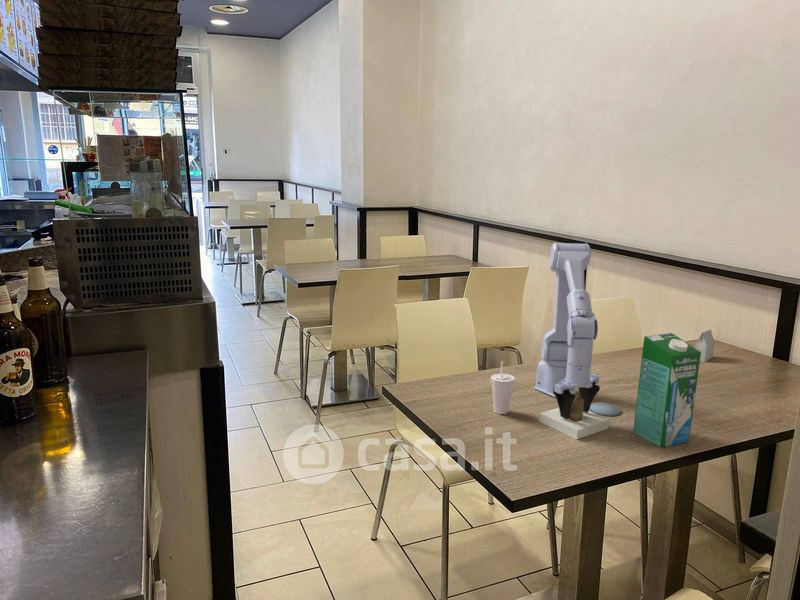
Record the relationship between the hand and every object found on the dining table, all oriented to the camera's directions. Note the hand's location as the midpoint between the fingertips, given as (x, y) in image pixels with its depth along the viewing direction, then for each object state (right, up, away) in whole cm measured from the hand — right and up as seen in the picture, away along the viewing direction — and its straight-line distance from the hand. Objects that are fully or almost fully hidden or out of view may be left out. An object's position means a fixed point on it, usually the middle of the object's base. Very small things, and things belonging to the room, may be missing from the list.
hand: (574, 414), depth 152 cm
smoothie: (-17, -1, +8) cm, 19 cm away
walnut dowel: (0, -3, +1) cm, 3 cm away
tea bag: (+61, +8, +57) cm, 84 cm away
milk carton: (+20, -5, -5) cm, 21 cm away
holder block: (0, -3, +1) cm, 3 cm away
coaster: (+11, -1, +11) cm, 15 cm away
